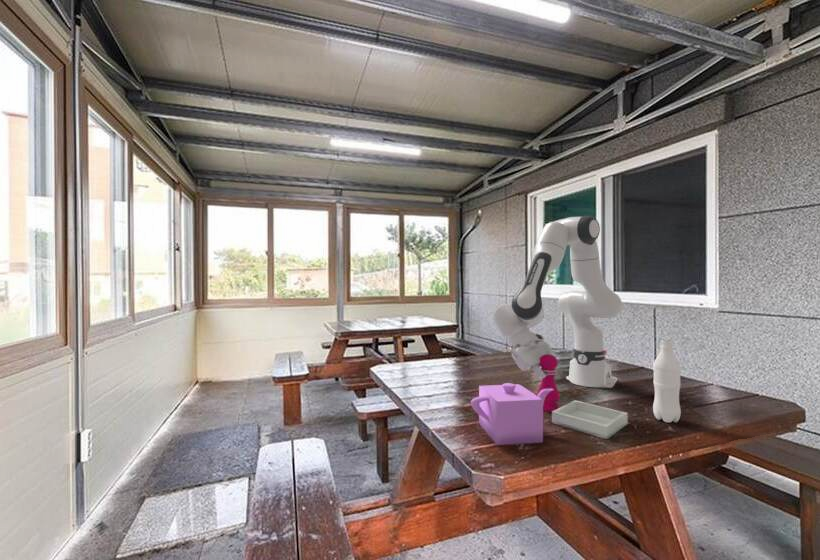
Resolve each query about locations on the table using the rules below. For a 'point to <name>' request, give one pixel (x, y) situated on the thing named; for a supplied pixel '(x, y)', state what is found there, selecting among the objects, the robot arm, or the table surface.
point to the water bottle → (666, 384)
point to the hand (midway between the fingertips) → (550, 375)
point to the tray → (590, 419)
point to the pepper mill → (549, 381)
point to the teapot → (510, 413)
